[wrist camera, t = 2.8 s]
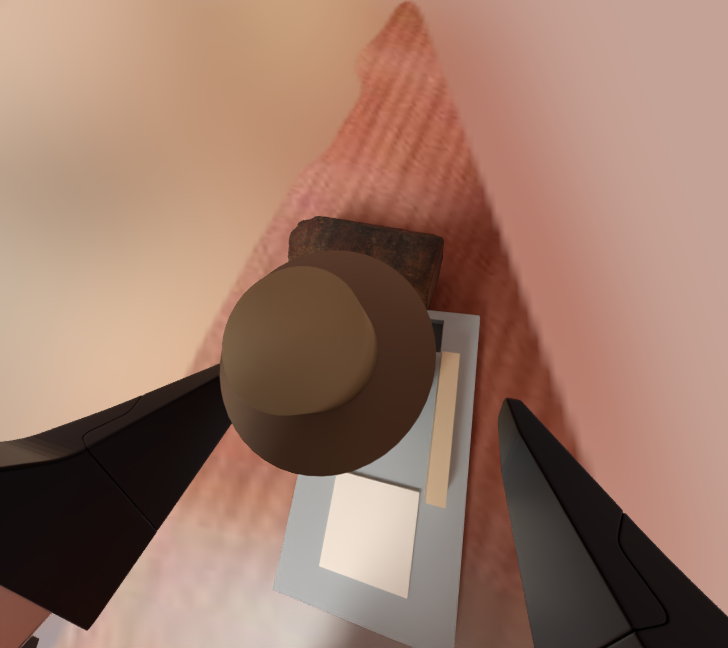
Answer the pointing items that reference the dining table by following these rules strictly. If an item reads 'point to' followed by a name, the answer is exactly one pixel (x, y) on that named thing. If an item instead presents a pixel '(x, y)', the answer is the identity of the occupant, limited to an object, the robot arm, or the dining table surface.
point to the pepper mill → (327, 363)
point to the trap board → (394, 515)
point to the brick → (375, 248)
